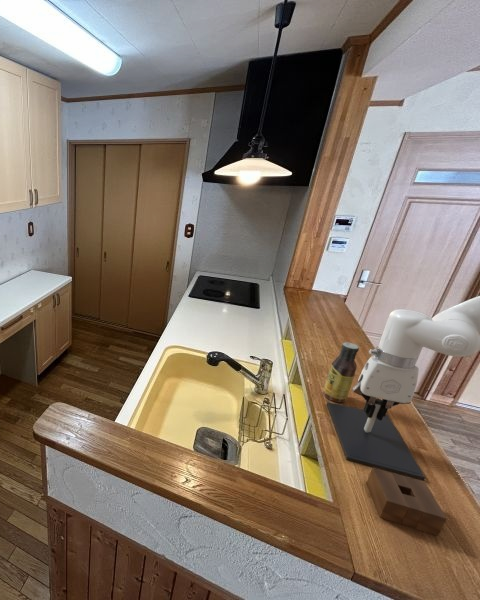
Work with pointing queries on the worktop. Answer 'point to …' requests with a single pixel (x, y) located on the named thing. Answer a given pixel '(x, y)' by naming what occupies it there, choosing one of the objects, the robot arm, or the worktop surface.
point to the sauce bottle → (341, 374)
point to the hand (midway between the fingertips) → (372, 415)
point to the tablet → (372, 442)
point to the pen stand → (405, 501)
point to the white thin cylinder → (371, 421)
